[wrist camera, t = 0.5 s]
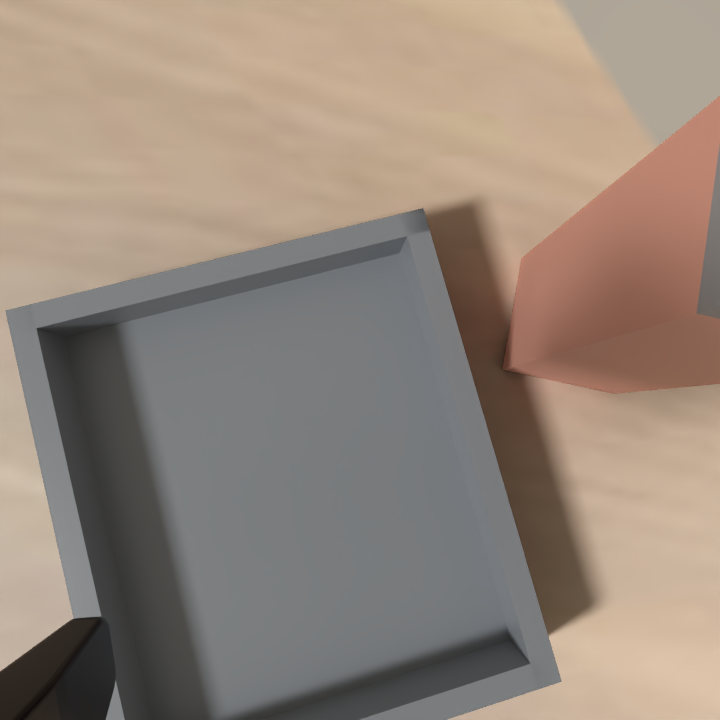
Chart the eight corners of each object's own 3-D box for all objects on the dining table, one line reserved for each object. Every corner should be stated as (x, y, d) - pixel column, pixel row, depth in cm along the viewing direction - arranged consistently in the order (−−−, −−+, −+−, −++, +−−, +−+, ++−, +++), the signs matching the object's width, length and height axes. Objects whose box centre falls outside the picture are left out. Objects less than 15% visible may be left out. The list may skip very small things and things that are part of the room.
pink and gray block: (614, 393, 22) (1022, 355, 9) (502, 369, 22) (757, 296, 9) (631, 282, 23) (1038, 98, 10) (521, 258, 22) (789, 38, 10)
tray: (530, 646, 21) (561, 681, 18) (148, 770, 20) (119, 827, 17) (410, 234, 22) (423, 208, 19) (47, 325, 21) (5, 310, 18)
